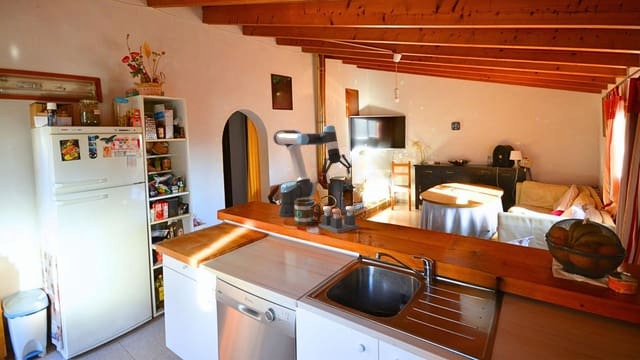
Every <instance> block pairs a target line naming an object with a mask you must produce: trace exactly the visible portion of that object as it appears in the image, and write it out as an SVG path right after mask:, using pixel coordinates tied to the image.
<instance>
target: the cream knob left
mask: <svg viewBox="0 0 640 360" xmlns="http://www.w3.org/2000/svg"><path fill="white" fill-rule="evenodd" d="M354 210H355V207H354V206H350V205H349V206H348V205H347V206H345V211H346V214H347V215H349V216H351V215H353V213H354V212H353V211H354Z"/></svg>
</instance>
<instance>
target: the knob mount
mask: <svg viewBox="0 0 640 360" xmlns="http://www.w3.org/2000/svg"><path fill="white" fill-rule="evenodd" d="M318 228H321V229H324V230H327V231H330V232H333V233H335V234H340V233H343V232H347V231H351V230H356V229H359V228H360V225H359V223H356V214H353V215H351V216H349V215H347V213H346V214H343V217H340V216H339V218H334V214H330V215H328V216H326V215H324V214H321V222H320V223H318Z"/></svg>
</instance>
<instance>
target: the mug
mask: <svg viewBox="0 0 640 360" xmlns="http://www.w3.org/2000/svg"><path fill="white" fill-rule="evenodd" d="M294 205H295V210H294V214H295V216H294V223H295V224H294V225H296V224H297V226H302V227H303V226H304V227H305V226H313V225H314V224H315V223H318V222H320V220H321V205H320V204H318V203H316V204H315V200H314V199H311V198H304V199H297V200H295V201H294ZM315 207H317V219H315Z"/></svg>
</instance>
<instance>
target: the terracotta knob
mask: <svg viewBox="0 0 640 360" xmlns="http://www.w3.org/2000/svg"><path fill="white" fill-rule="evenodd" d="M331 211H332V215H333V217H334V218H339V217H340V214H341V208H331Z"/></svg>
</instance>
